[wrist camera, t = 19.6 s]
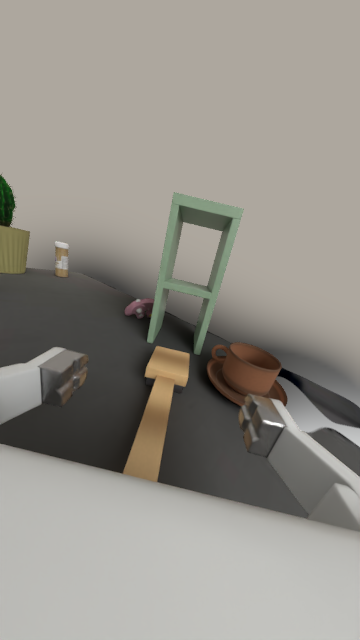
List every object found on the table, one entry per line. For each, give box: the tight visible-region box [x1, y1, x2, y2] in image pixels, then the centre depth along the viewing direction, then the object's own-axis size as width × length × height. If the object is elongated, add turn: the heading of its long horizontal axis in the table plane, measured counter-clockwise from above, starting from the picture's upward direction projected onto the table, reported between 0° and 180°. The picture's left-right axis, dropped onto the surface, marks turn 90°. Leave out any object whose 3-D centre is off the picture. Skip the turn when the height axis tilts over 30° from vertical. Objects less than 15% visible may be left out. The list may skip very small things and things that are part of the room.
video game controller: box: [125, 298, 154, 318], centre depth 45 cm, size 10×5×7 cm, turn 129°
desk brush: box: [123, 346, 190, 482], centre depth 18 cm, size 19×6×3 cm, turn 175°
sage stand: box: [147, 192, 244, 355], centre depth 34 cm, size 10×11×26 cm
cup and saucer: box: [207, 342, 287, 407], centre depth 25 cm, size 12×12×6 cm
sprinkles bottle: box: [55, 241, 69, 277], centre depth 68 cm, size 5×5×13 cm
